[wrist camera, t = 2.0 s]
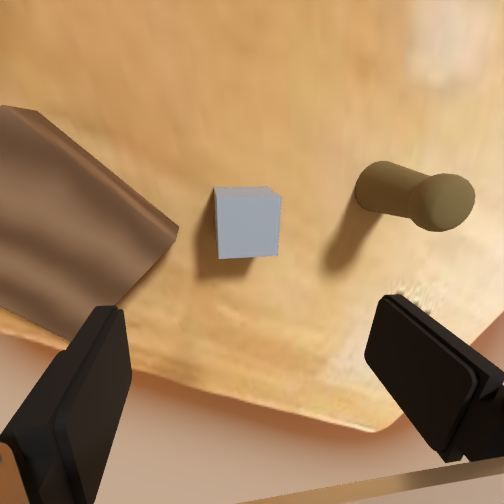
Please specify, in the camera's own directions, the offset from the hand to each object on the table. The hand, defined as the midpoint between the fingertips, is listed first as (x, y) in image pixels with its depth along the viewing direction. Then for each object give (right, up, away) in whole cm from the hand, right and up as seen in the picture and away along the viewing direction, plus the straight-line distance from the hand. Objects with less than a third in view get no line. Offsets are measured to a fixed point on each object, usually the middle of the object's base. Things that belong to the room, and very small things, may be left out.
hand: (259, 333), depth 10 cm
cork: (+15, +11, +23) cm, 30 cm away
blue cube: (-2, +7, +21) cm, 22 cm away
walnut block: (-20, +5, +19) cm, 28 cm away
